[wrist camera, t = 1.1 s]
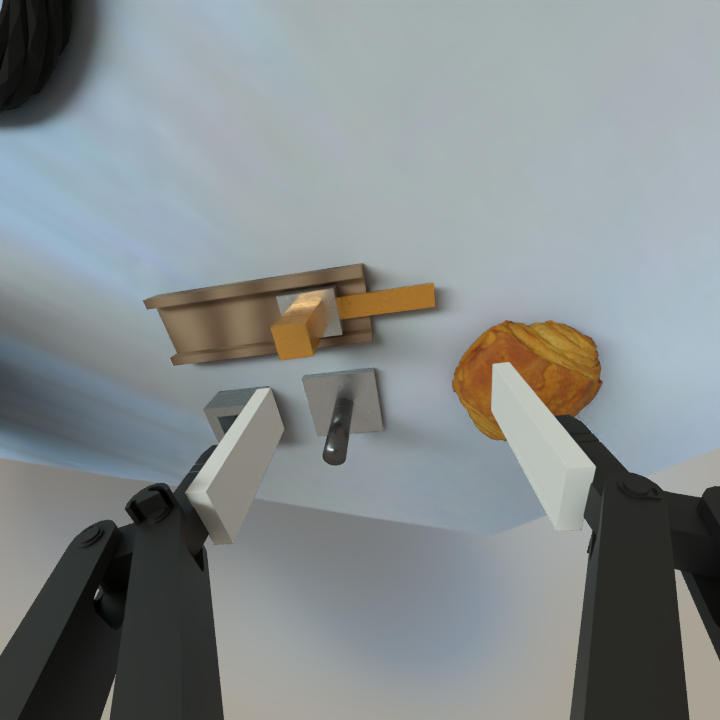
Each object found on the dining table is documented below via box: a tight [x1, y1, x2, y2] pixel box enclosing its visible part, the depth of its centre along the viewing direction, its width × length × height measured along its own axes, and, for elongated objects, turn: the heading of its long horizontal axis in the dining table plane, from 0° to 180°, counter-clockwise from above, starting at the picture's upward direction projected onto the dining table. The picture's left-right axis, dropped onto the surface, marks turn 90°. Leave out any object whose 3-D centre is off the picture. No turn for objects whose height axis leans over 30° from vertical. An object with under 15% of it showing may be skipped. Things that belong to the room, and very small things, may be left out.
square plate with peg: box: [302, 368, 383, 465], centre depth 36 cm, size 9×9×10 cm
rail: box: [143, 263, 373, 366], centre depth 34 cm, size 24×8×2 cm, turn 99°
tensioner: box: [271, 283, 435, 360], centre depth 29 cm, size 16×5×9 cm, turn 99°
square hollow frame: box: [203, 386, 269, 443], centre depth 40 cm, size 7×7×4 cm
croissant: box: [452, 320, 602, 441], centre depth 34 cm, size 14×16×8 cm
